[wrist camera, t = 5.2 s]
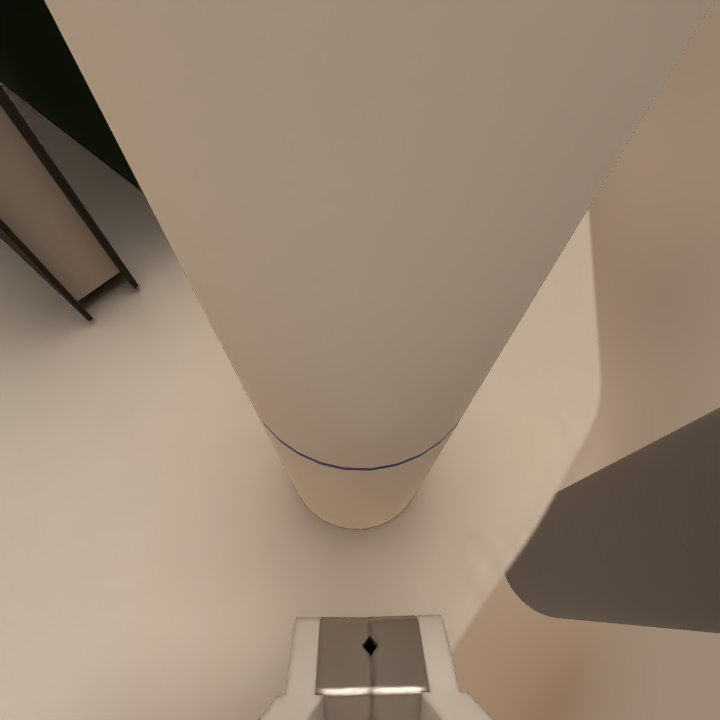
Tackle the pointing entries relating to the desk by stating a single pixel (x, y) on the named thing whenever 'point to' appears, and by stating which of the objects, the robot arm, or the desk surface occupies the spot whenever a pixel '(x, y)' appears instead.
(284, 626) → the desk surface
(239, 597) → the desk surface
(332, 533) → the desk surface
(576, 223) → the cylindrical container
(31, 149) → the ring binders
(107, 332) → the desk surface
